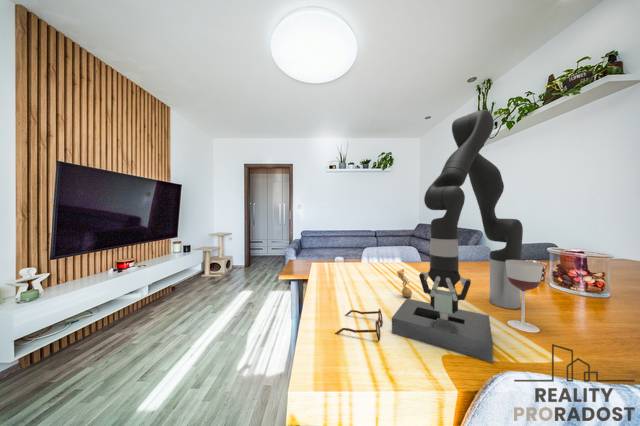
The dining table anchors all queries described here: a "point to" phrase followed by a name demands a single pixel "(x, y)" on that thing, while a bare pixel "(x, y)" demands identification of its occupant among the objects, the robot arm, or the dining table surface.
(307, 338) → the dining table surface
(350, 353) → the dining table surface
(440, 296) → the keyhole peg
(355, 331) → the glasses
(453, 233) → the robot arm
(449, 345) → the keyhole plate
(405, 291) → the figurine
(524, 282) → the wineglass
